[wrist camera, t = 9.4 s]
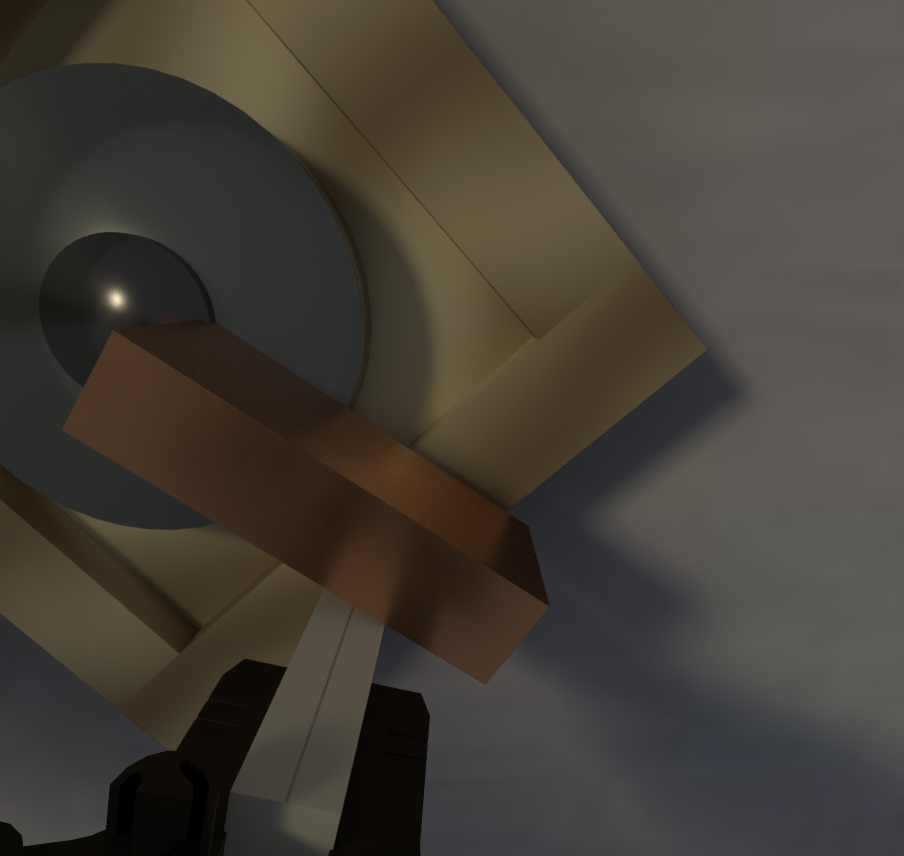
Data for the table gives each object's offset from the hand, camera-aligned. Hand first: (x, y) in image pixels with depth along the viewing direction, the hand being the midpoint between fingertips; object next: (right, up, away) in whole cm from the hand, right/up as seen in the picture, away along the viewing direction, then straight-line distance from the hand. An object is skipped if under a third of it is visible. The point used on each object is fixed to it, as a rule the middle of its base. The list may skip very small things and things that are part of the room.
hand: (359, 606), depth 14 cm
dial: (-3, +6, +1) cm, 7 cm away
